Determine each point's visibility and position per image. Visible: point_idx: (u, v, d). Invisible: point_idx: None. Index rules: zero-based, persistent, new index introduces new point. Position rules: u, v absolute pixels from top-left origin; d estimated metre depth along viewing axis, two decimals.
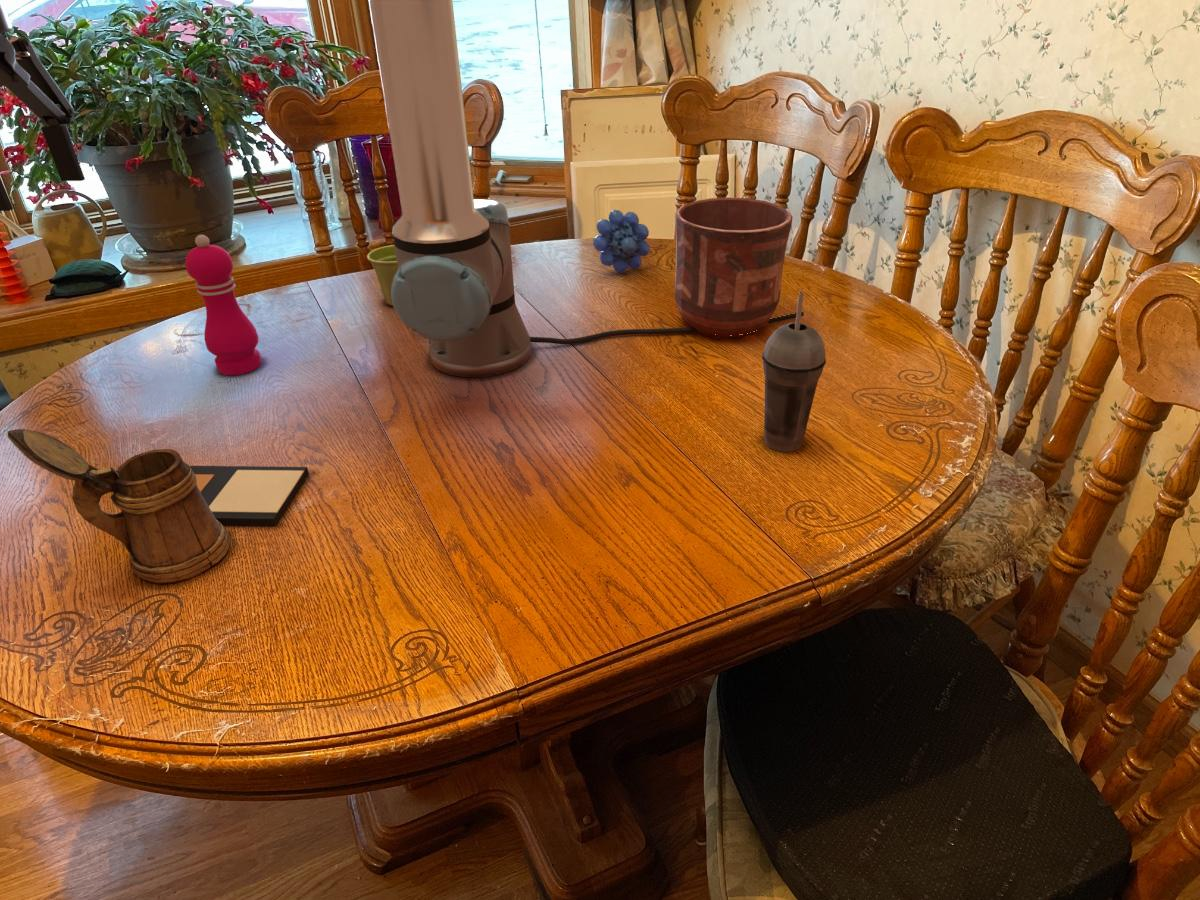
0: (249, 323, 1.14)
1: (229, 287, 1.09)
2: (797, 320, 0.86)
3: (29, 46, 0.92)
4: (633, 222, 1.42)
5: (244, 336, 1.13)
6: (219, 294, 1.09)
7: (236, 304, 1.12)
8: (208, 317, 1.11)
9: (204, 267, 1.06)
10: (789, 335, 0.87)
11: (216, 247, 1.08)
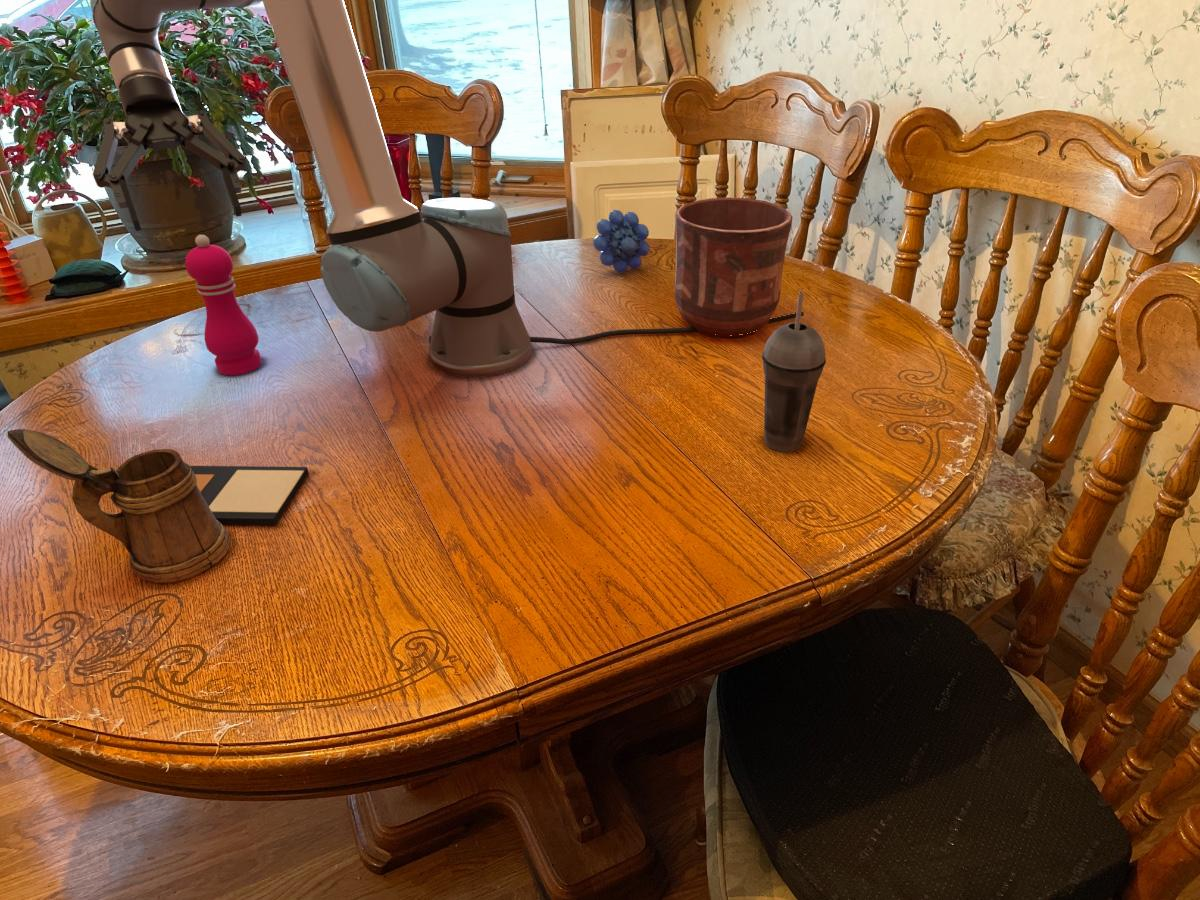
0: (249, 323, 1.14)
1: (229, 287, 1.09)
2: (797, 320, 0.86)
3: (202, 115, 1.17)
4: (633, 222, 1.42)
5: (244, 336, 1.13)
6: (219, 294, 1.09)
7: (236, 304, 1.12)
8: (208, 317, 1.11)
9: (204, 267, 1.06)
10: (789, 335, 0.87)
11: (216, 247, 1.08)
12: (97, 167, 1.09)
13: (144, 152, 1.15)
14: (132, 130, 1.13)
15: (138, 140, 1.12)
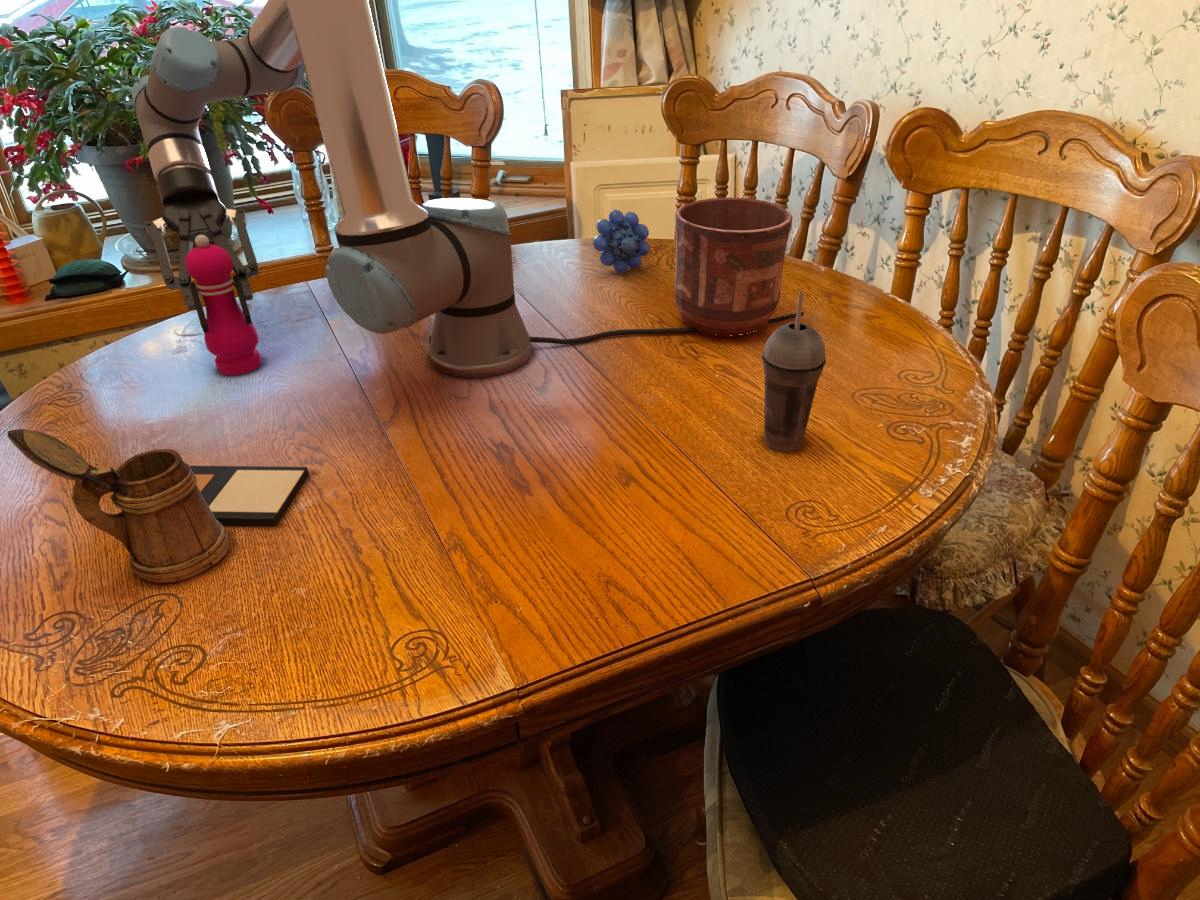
0: None
1: (229, 287, 1.09)
2: (797, 320, 0.86)
3: (240, 212, 1.13)
4: (633, 222, 1.42)
5: (244, 336, 1.13)
6: (219, 294, 1.09)
7: (236, 304, 1.12)
8: (208, 317, 1.11)
9: (203, 267, 1.06)
10: (789, 335, 0.87)
11: (216, 247, 1.08)
12: (164, 271, 1.08)
13: (192, 244, 1.12)
14: None
15: (186, 235, 1.10)
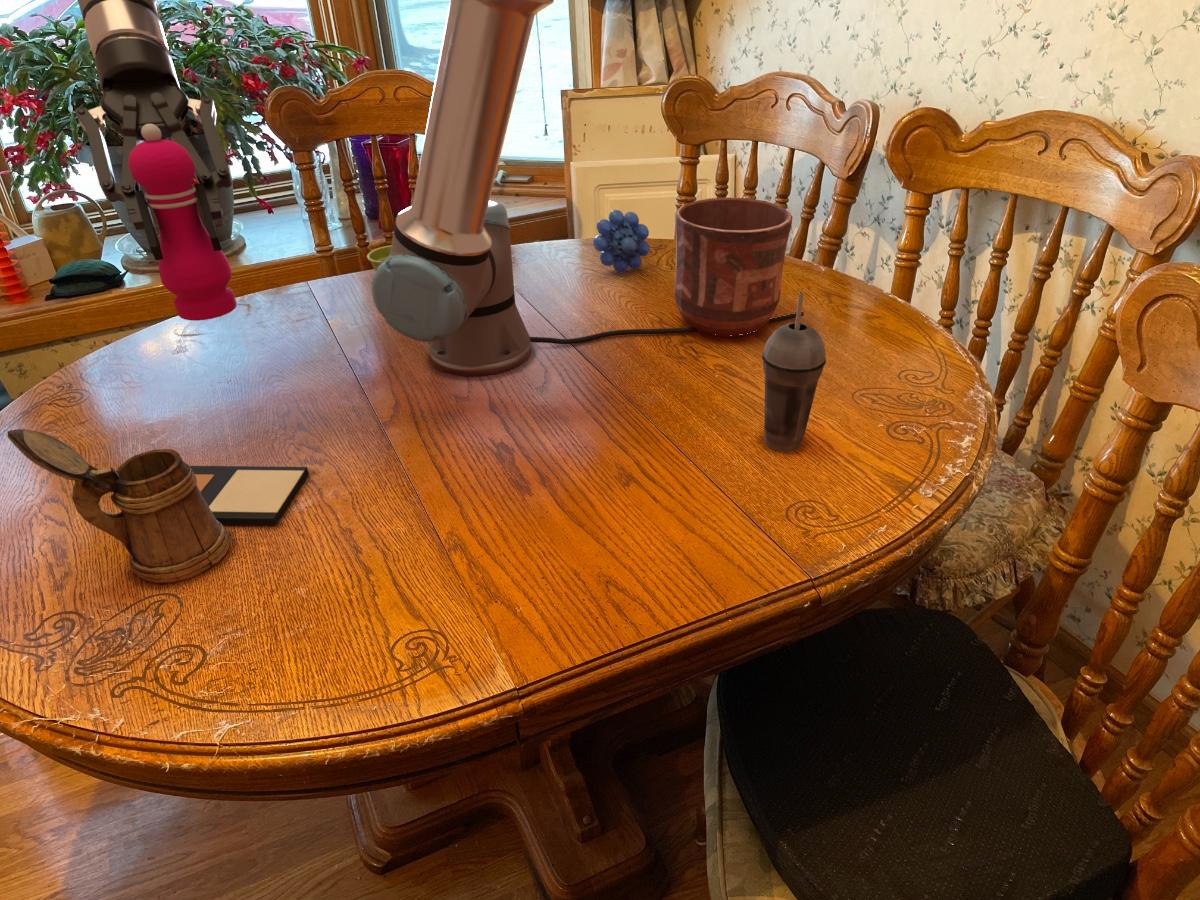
0: (219, 251, 0.86)
1: (189, 198, 0.81)
2: (797, 320, 0.86)
3: (206, 103, 0.85)
4: (633, 222, 1.42)
5: (212, 267, 0.84)
6: (175, 207, 0.81)
7: (200, 224, 0.84)
8: (162, 240, 0.83)
9: (152, 167, 0.78)
10: (789, 335, 0.87)
11: (171, 142, 0.79)
12: (101, 175, 0.80)
13: None
14: None
15: (132, 128, 0.81)
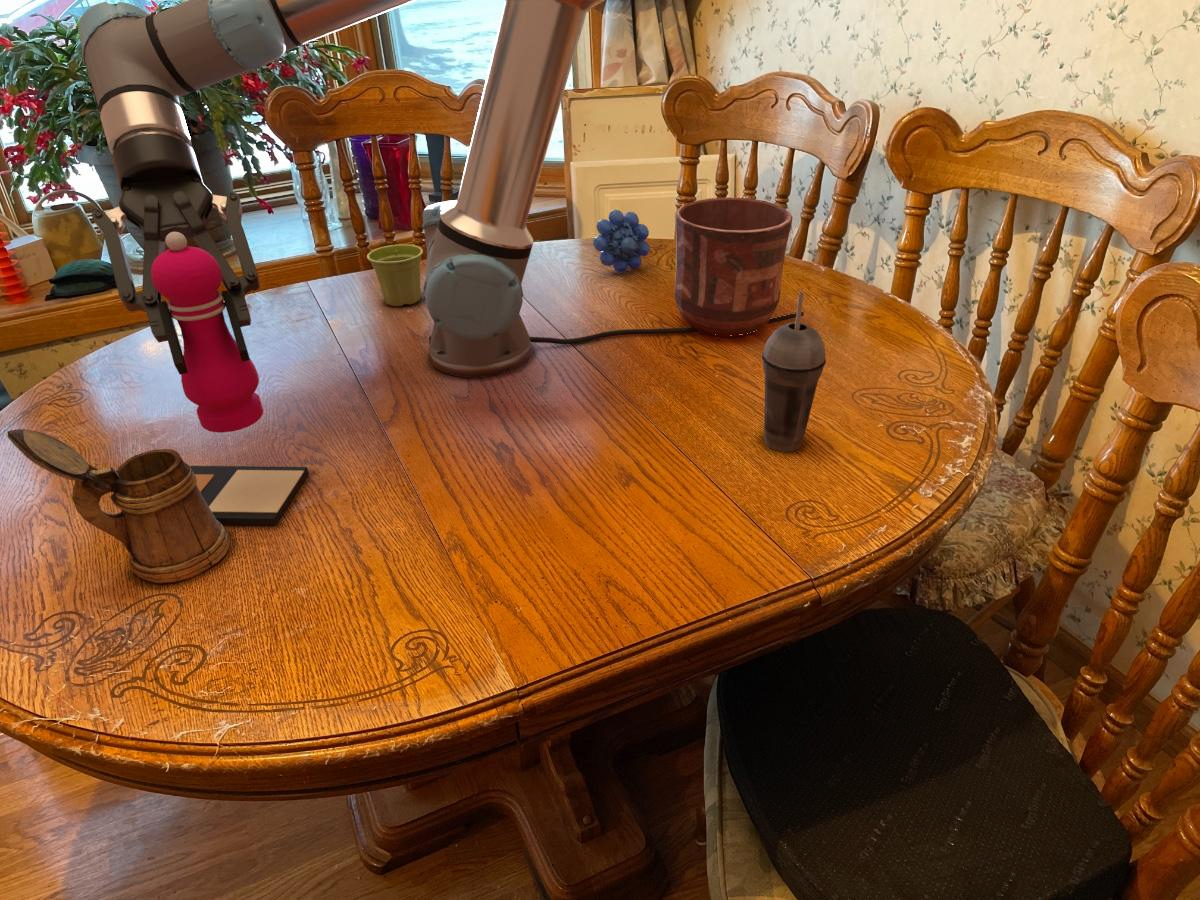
0: None
1: (216, 308, 0.75)
2: (797, 320, 0.86)
3: (233, 200, 0.79)
4: (633, 222, 1.42)
5: (239, 378, 0.78)
6: (201, 319, 0.75)
7: (227, 332, 0.78)
8: (186, 351, 0.77)
9: (178, 280, 0.72)
10: (789, 335, 0.87)
11: (197, 250, 0.73)
12: (120, 285, 0.74)
13: (163, 246, 0.78)
14: None
15: (153, 232, 0.75)
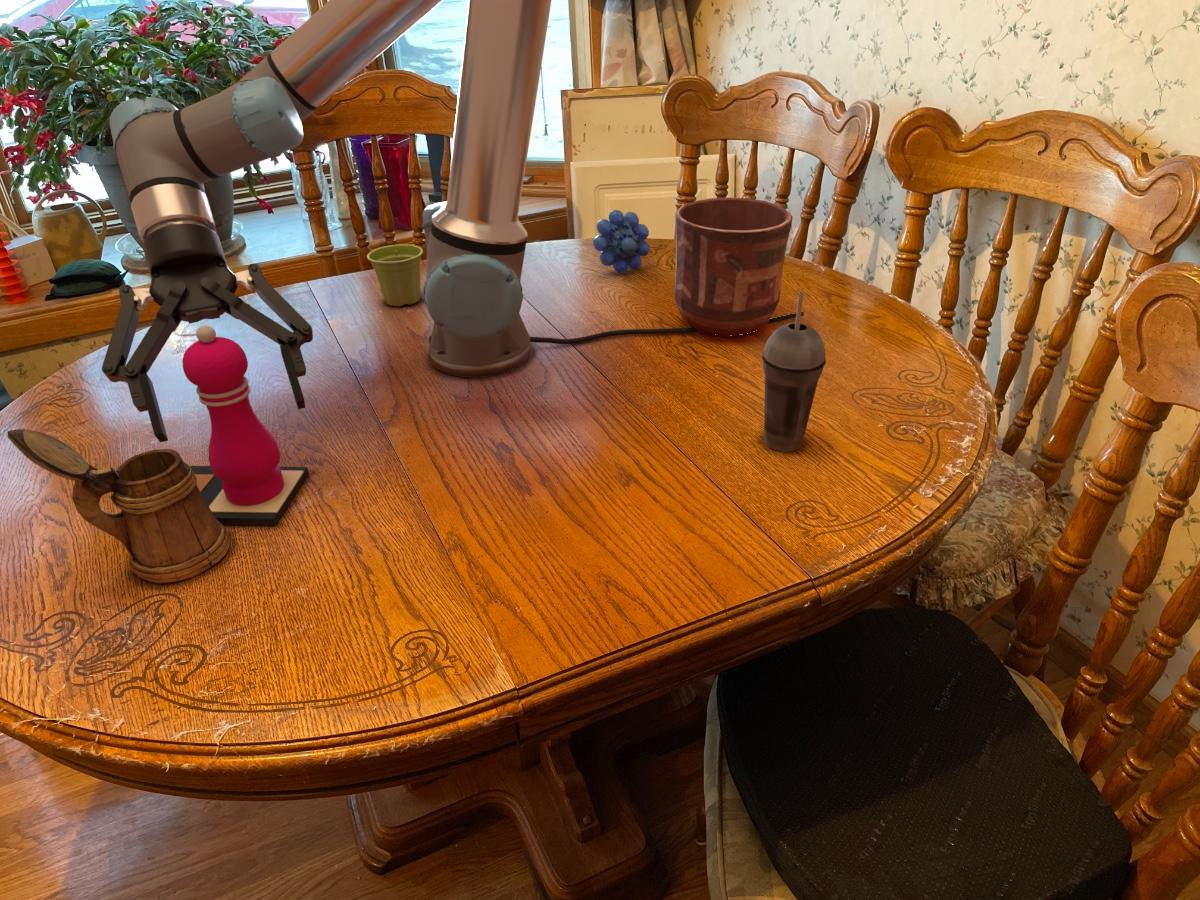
0: (269, 436, 0.85)
1: (242, 393, 0.80)
2: (797, 320, 0.86)
3: (255, 271, 0.84)
4: (633, 222, 1.42)
5: (263, 456, 0.83)
6: (229, 404, 0.80)
7: (251, 413, 0.83)
8: (214, 432, 0.82)
9: (208, 371, 0.77)
10: (789, 335, 0.87)
11: (225, 341, 0.78)
12: (108, 358, 0.77)
13: (175, 326, 0.82)
14: (159, 299, 0.81)
15: (166, 315, 0.80)
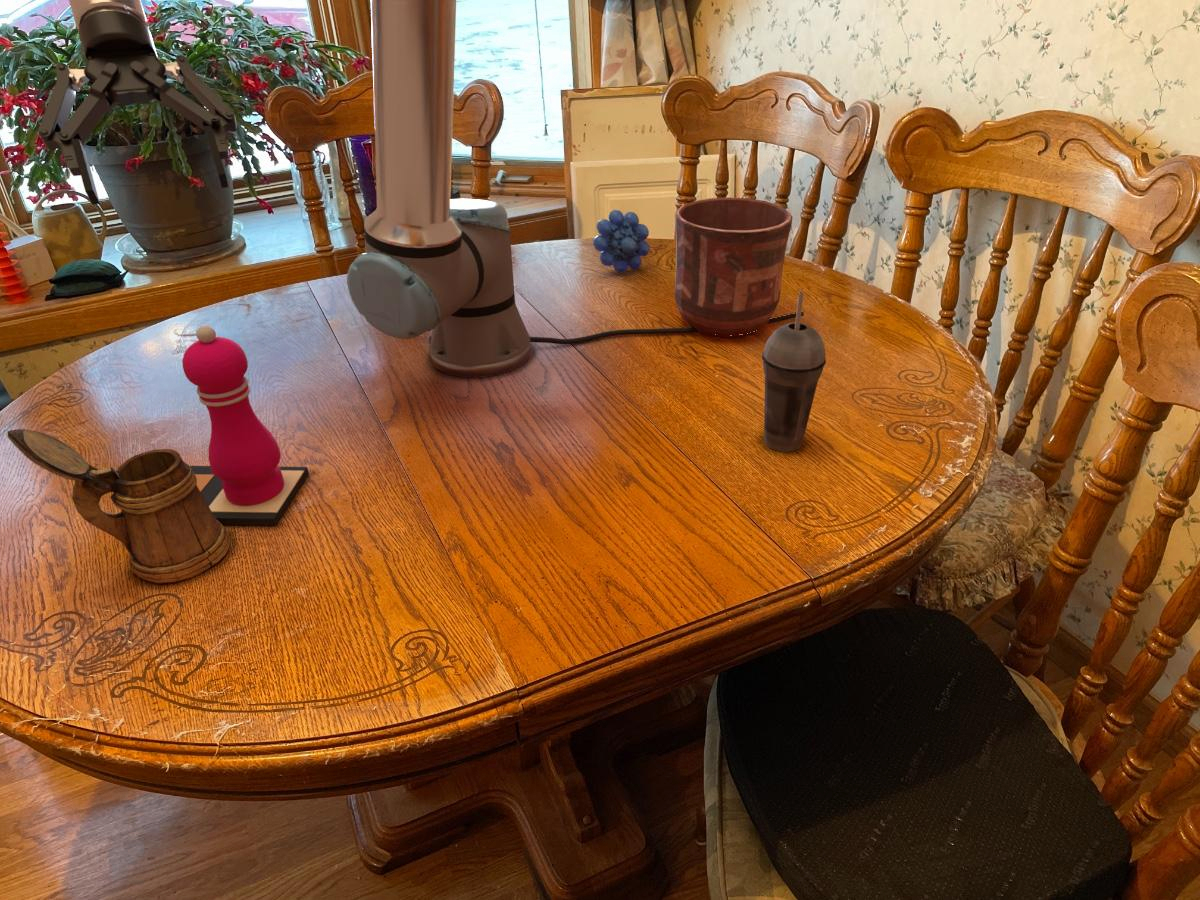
0: (269, 436, 0.85)
1: (242, 393, 0.80)
2: (797, 320, 0.86)
3: (183, 61, 0.93)
4: (633, 222, 1.42)
5: (263, 456, 0.83)
6: (229, 404, 0.80)
7: (251, 413, 0.83)
8: (214, 432, 0.82)
9: (208, 371, 0.77)
10: (789, 335, 0.87)
11: (225, 341, 0.78)
12: (44, 123, 0.86)
13: (109, 108, 0.91)
14: (92, 79, 0.89)
15: (98, 90, 0.88)
